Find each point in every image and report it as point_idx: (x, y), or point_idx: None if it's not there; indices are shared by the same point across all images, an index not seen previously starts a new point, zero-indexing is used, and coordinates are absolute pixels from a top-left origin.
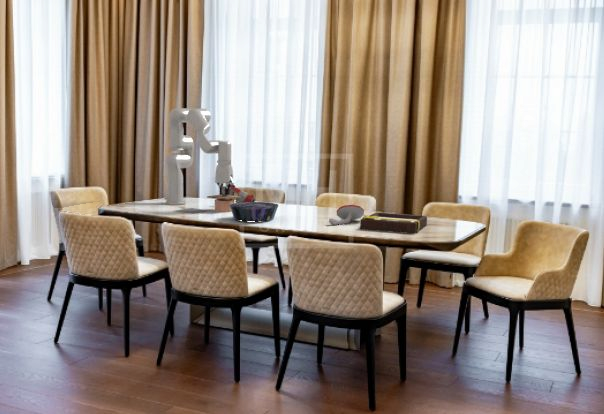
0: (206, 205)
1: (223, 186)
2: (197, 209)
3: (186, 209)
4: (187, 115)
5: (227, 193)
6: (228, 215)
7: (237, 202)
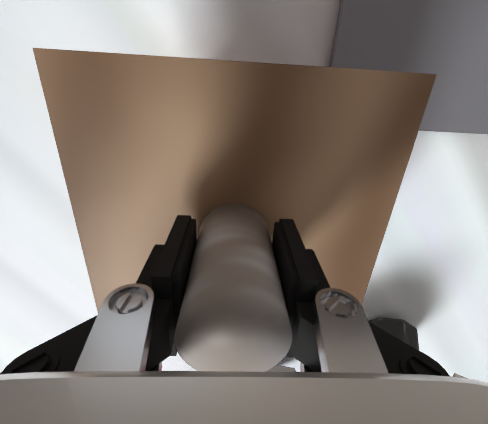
0: (474, 312)
1: (259, 341)
2: (462, 99)
3: None
4: None
5: (163, 245)
6: (62, 15)
7: (278, 370)
